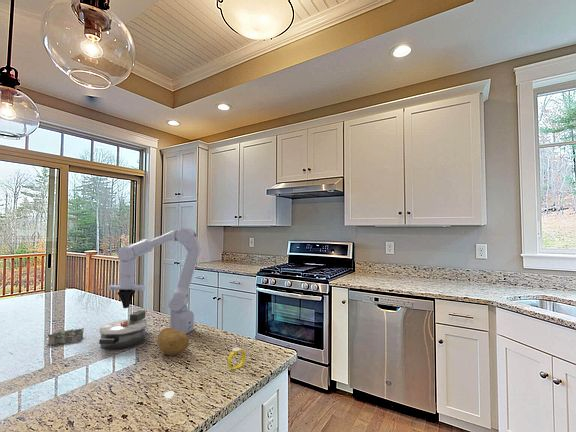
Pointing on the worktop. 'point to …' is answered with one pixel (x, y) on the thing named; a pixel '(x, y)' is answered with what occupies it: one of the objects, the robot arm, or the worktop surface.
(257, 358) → the worktop surface
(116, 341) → the cooker pot
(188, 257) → the robot arm
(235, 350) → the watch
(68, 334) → the egg carton
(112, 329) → the lid
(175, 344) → the potato
